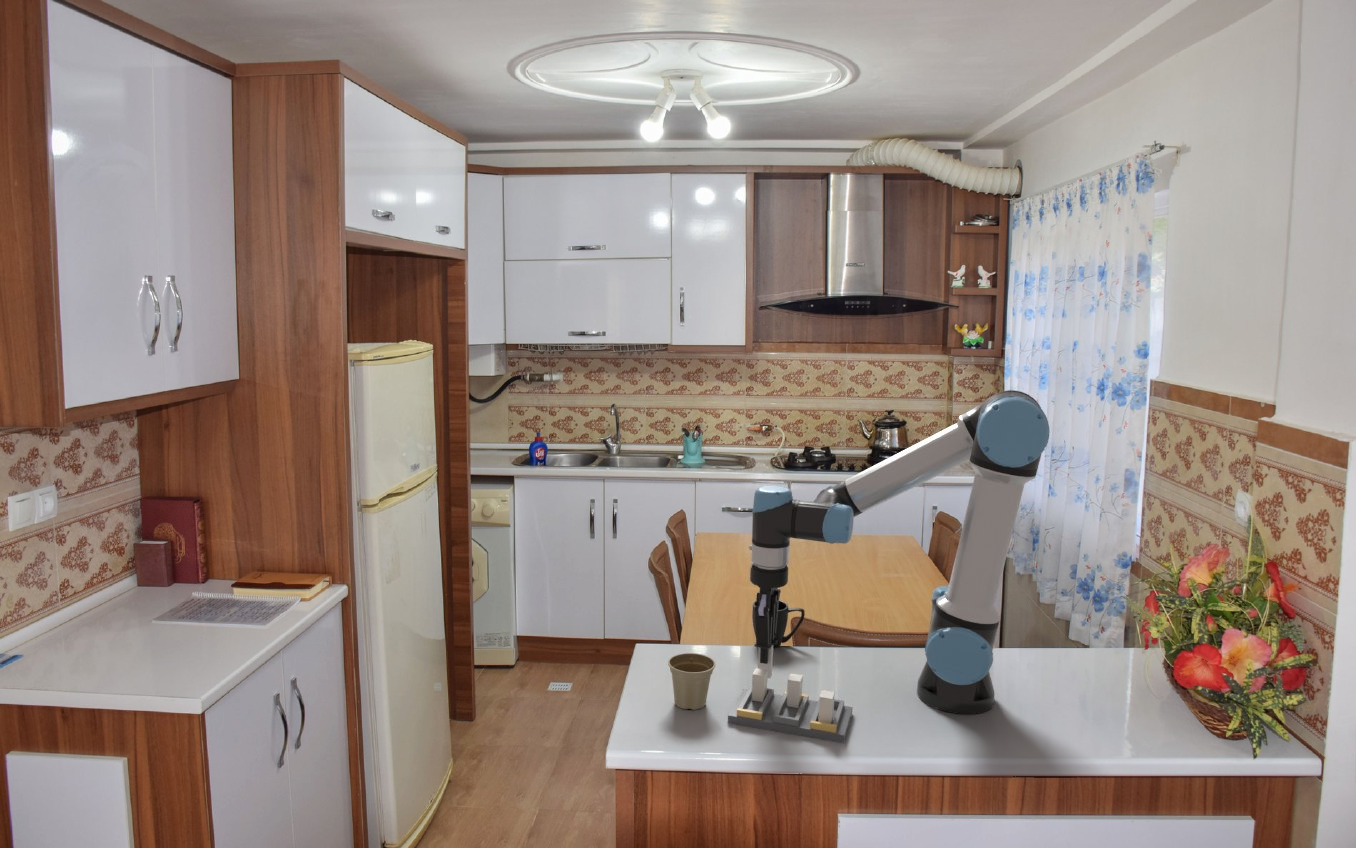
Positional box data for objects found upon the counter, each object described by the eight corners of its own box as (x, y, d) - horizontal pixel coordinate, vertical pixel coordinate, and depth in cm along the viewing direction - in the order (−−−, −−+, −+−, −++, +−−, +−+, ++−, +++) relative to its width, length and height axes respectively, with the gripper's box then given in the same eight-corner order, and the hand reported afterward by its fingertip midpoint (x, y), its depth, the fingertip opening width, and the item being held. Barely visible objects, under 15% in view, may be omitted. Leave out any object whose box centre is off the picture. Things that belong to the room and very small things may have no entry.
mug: (803, 653, 207) (805, 613, 205) (750, 649, 208) (752, 609, 206) (802, 639, 215) (804, 600, 213) (751, 636, 216) (753, 597, 214)
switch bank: (852, 714, 178) (852, 701, 177) (843, 743, 166) (844, 729, 166) (742, 696, 184) (743, 683, 184) (727, 722, 173) (728, 709, 172)
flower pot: (721, 699, 183) (722, 658, 181) (702, 718, 174) (704, 676, 173) (679, 689, 187) (680, 649, 185) (658, 708, 178) (659, 666, 177)
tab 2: (801, 701, 179) (802, 675, 178) (798, 708, 176) (800, 681, 175) (789, 699, 180) (790, 673, 179) (786, 706, 177) (787, 679, 176)
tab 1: (766, 695, 181) (767, 669, 180) (763, 702, 178) (764, 675, 177) (754, 693, 182) (756, 668, 181) (751, 700, 179) (752, 674, 178)
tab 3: (833, 719, 172) (834, 692, 171) (830, 726, 169) (832, 698, 168) (820, 717, 173) (822, 690, 172) (818, 724, 170) (819, 696, 169)
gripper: (758, 552, 188) (754, 660, 191) (743, 571, 176) (738, 686, 179) (794, 557, 185) (789, 666, 189) (781, 576, 173) (775, 692, 177)
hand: (764, 675), depth 184 cm, fingers closed
